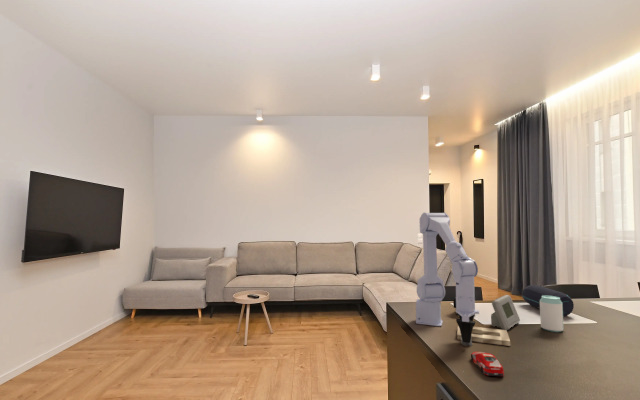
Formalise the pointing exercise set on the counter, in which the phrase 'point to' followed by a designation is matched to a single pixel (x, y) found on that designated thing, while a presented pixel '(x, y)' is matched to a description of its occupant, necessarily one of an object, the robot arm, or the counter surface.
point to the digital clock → (504, 313)
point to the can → (551, 313)
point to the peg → (467, 343)
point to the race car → (487, 364)
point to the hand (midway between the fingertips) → (466, 338)
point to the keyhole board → (488, 336)
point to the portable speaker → (535, 292)
